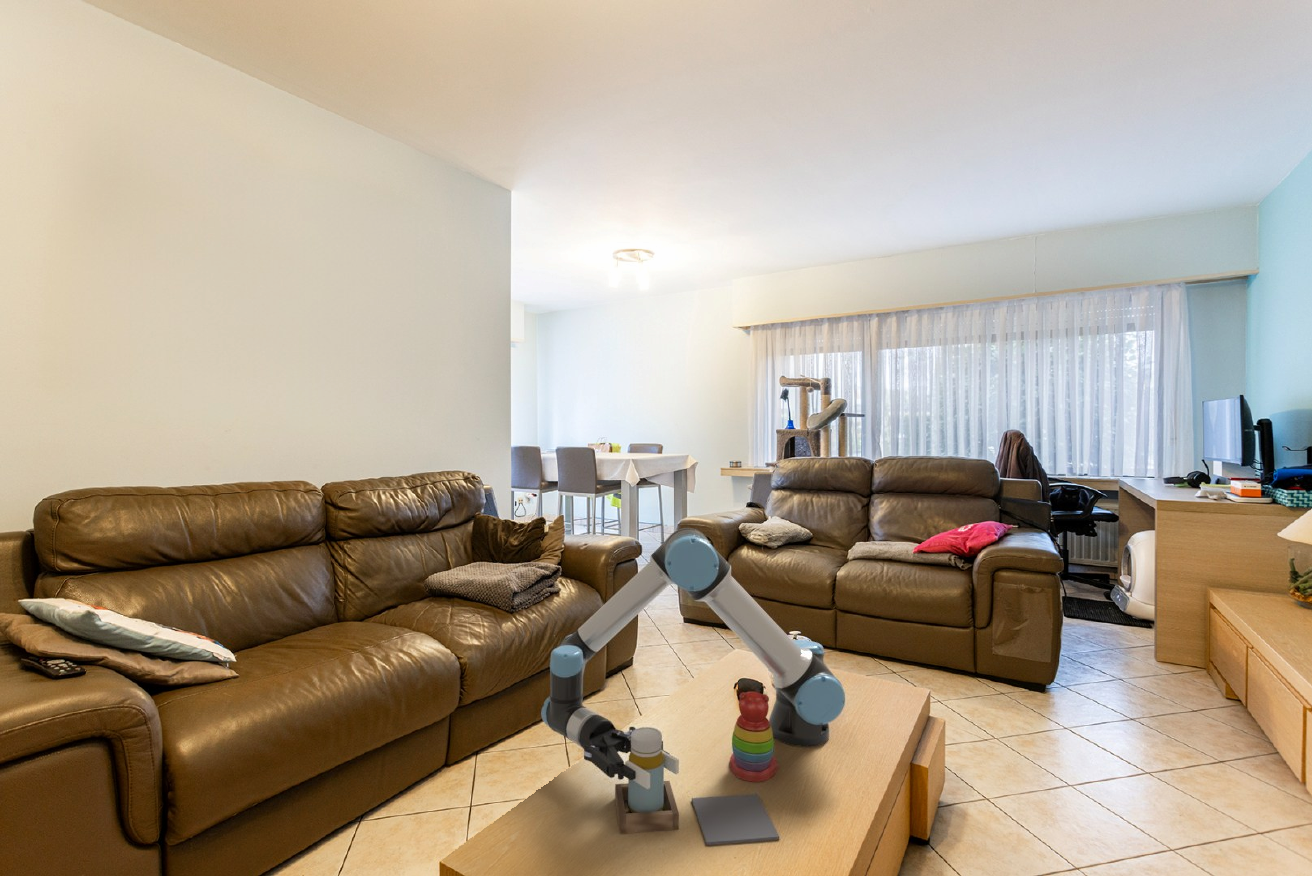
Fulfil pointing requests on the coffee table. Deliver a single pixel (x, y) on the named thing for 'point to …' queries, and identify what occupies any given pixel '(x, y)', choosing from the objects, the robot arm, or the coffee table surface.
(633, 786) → the bottle
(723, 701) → the coffee table surface
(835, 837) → the coffee table surface
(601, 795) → the coffee table surface
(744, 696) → the stacking bear
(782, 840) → the coffee table surface
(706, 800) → the charcoal mat
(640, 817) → the walnut collar
